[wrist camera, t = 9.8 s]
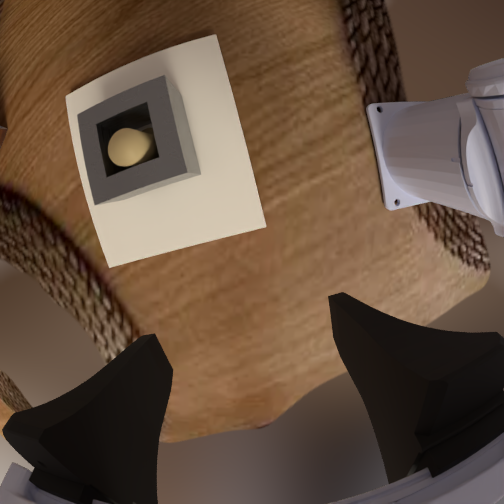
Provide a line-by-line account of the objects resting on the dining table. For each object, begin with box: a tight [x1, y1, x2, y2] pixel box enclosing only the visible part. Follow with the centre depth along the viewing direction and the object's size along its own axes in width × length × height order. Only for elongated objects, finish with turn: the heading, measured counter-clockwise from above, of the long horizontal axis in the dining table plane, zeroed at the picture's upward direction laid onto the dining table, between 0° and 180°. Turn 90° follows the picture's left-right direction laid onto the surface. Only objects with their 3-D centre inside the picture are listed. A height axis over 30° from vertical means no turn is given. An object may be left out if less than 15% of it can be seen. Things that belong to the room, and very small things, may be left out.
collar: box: [77, 75, 201, 205], centre depth 14 cm, size 6×6×4 cm
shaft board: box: [66, 34, 266, 268], centre depth 15 cm, size 12×14×6 cm
